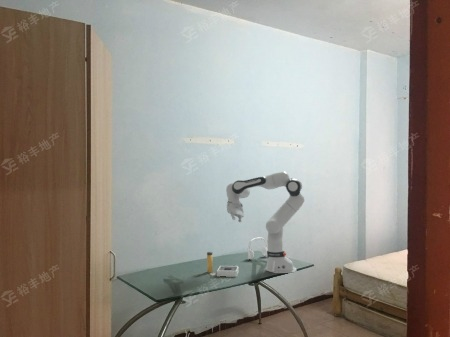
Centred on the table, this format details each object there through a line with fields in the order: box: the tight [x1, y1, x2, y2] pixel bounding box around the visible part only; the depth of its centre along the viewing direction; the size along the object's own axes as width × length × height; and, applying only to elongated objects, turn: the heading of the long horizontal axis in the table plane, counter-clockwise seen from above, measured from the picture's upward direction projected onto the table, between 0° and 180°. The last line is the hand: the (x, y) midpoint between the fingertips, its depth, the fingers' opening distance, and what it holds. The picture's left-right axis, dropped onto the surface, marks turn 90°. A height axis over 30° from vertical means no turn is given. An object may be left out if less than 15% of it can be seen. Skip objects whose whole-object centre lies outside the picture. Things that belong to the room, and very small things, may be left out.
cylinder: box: [206, 251, 214, 274], centre depth 250 cm, size 4×4×14 cm
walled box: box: [216, 265, 240, 278], centre depth 244 cm, size 14×13×4 cm
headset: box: [247, 236, 268, 260], centre depth 290 cm, size 20×7×18 cm, turn 123°
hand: (237, 220), depth 254 cm, fingers open, 8 cm apart
